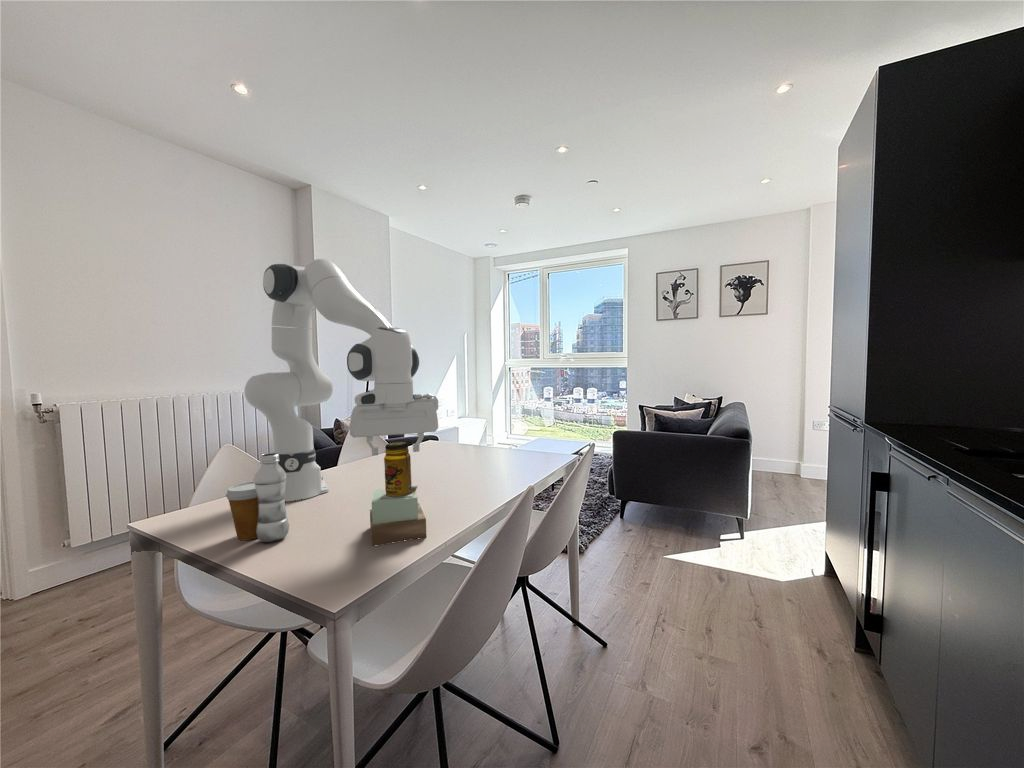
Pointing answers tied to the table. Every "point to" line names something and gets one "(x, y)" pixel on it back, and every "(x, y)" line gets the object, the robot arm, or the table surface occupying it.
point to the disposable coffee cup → (244, 509)
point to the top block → (393, 508)
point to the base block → (398, 530)
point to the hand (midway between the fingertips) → (395, 453)
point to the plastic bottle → (271, 499)
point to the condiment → (398, 471)
